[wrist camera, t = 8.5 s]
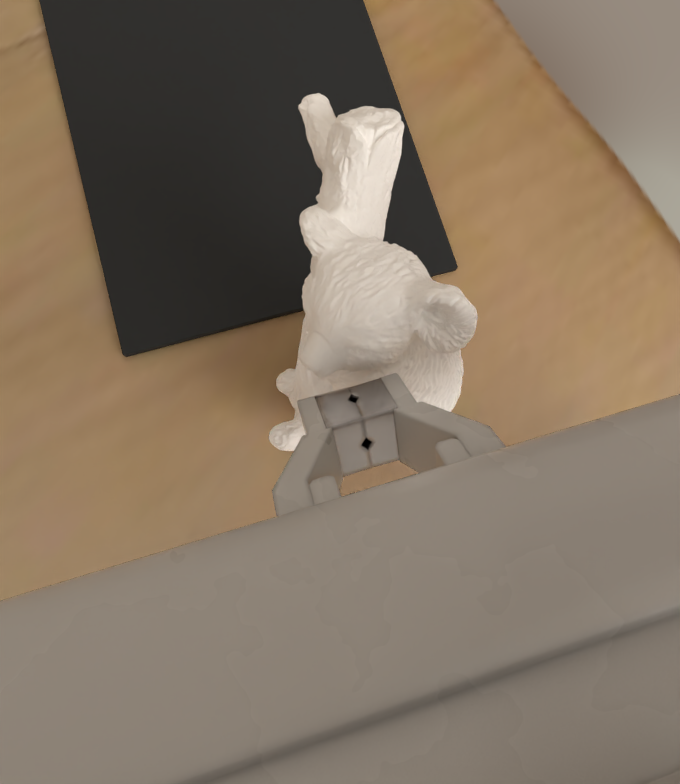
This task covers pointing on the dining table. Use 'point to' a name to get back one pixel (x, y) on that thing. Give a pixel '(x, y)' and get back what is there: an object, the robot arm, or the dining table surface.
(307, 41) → the mat
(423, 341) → the white animal figurine
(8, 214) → the dining table surface
